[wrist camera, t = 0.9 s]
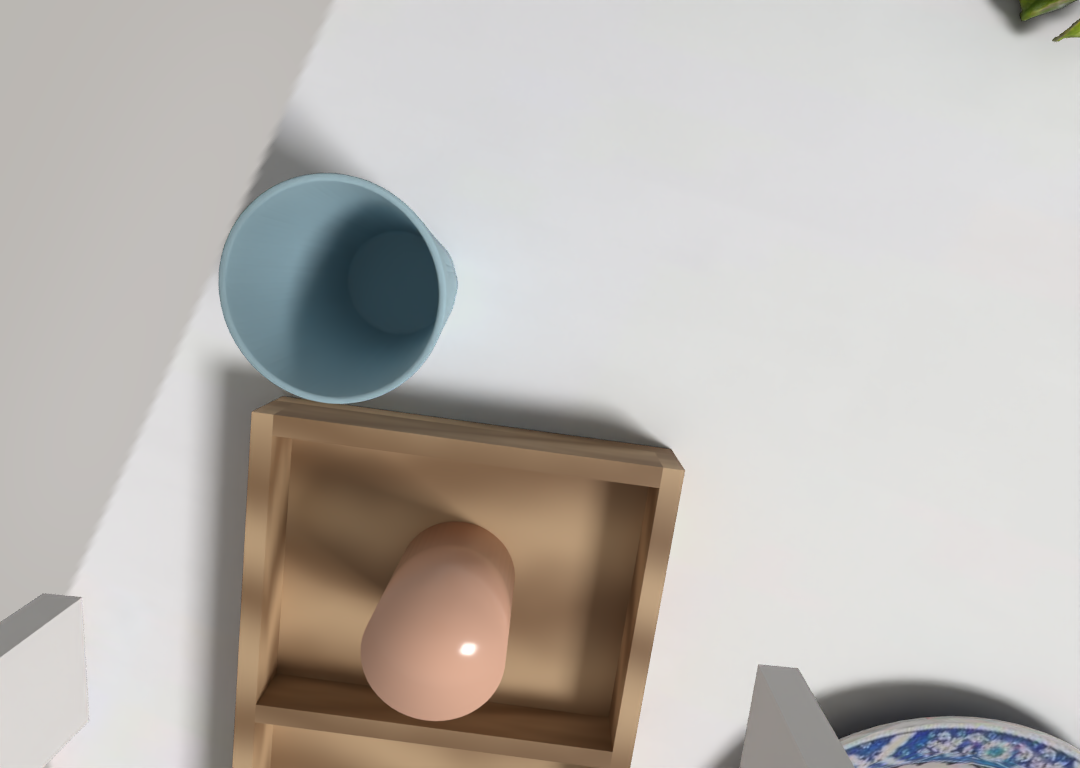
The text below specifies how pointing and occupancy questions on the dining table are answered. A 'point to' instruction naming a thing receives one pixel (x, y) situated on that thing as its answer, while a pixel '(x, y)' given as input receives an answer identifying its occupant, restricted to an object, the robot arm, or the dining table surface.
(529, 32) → the dining table surface
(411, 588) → the tan rounded piece
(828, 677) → the dining table surface
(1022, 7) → the passion flower
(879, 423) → the dining table surface
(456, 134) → the dining table surface
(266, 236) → the cup
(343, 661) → the divided wooden tray
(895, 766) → the ceramic plate
